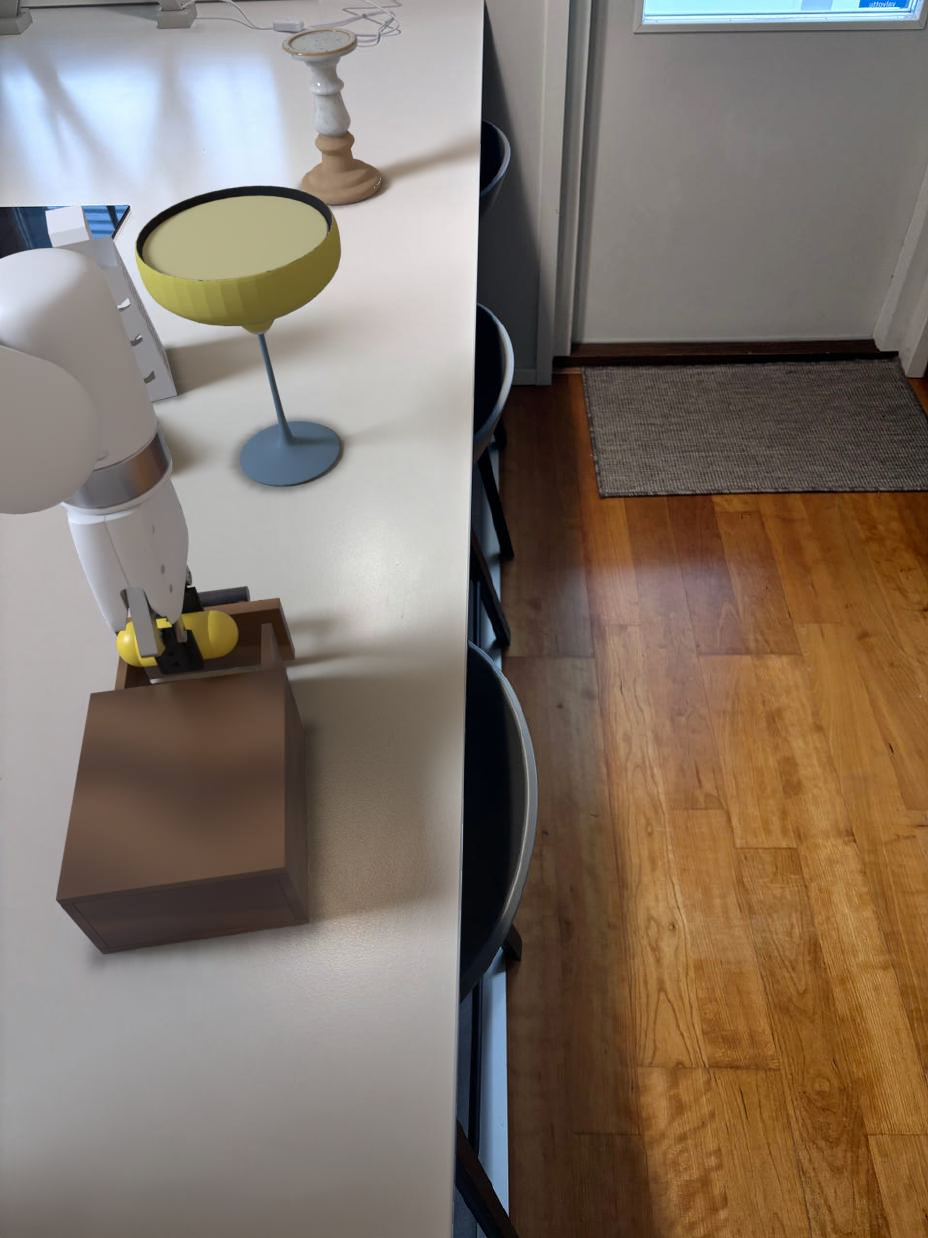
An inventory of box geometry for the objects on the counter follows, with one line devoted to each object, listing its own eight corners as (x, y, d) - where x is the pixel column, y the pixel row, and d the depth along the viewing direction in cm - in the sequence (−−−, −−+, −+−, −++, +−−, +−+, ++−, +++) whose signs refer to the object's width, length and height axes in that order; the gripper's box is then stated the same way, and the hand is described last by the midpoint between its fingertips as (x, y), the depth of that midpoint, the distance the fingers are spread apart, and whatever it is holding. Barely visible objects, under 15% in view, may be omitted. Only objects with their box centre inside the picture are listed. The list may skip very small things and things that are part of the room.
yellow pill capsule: (127, 671, 73) (111, 668, 69) (123, 625, 73) (107, 619, 70) (244, 656, 73) (235, 652, 70) (240, 610, 74) (230, 604, 70)
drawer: (145, 636, 85) (120, 583, 80) (294, 616, 85) (279, 563, 80) (121, 829, 72) (89, 781, 67) (297, 804, 73) (279, 754, 67)
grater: (164, 349, 118) (110, 187, 103) (177, 395, 111) (121, 229, 96) (78, 369, 116) (11, 208, 101) (86, 417, 109) (14, 252, 94)
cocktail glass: (366, 393, 109) (330, 173, 90) (381, 495, 97) (343, 265, 78) (208, 416, 108) (139, 197, 89) (203, 521, 96) (123, 295, 77)
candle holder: (332, 213, 139) (308, 62, 124) (286, 188, 146) (257, 42, 131) (398, 185, 144) (382, 37, 129) (350, 162, 151) (329, 18, 136)
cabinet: (127, 756, 77) (90, 692, 71) (305, 731, 78) (284, 666, 72) (101, 954, 66) (55, 900, 60) (309, 923, 67) (285, 867, 61)
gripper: (64, 388, 64) (147, 577, 78) (19, 557, 53) (124, 744, 67) (176, 374, 64) (238, 565, 78) (154, 540, 53) (231, 729, 67)
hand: (185, 646), depth 72 cm, fingers closed on yellow pill capsule, 3 cm apart
